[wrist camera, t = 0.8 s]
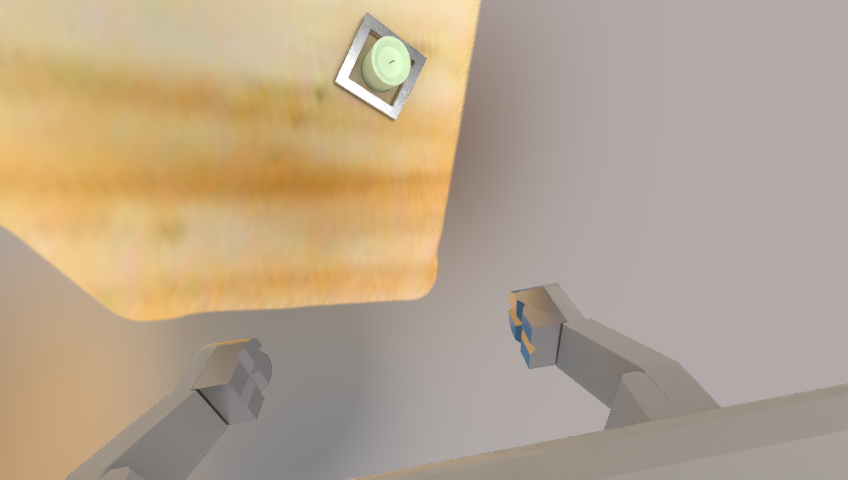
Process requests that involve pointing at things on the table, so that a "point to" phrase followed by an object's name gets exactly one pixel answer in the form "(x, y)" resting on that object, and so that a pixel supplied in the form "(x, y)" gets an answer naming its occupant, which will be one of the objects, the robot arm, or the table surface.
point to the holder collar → (348, 85)
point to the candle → (386, 64)
